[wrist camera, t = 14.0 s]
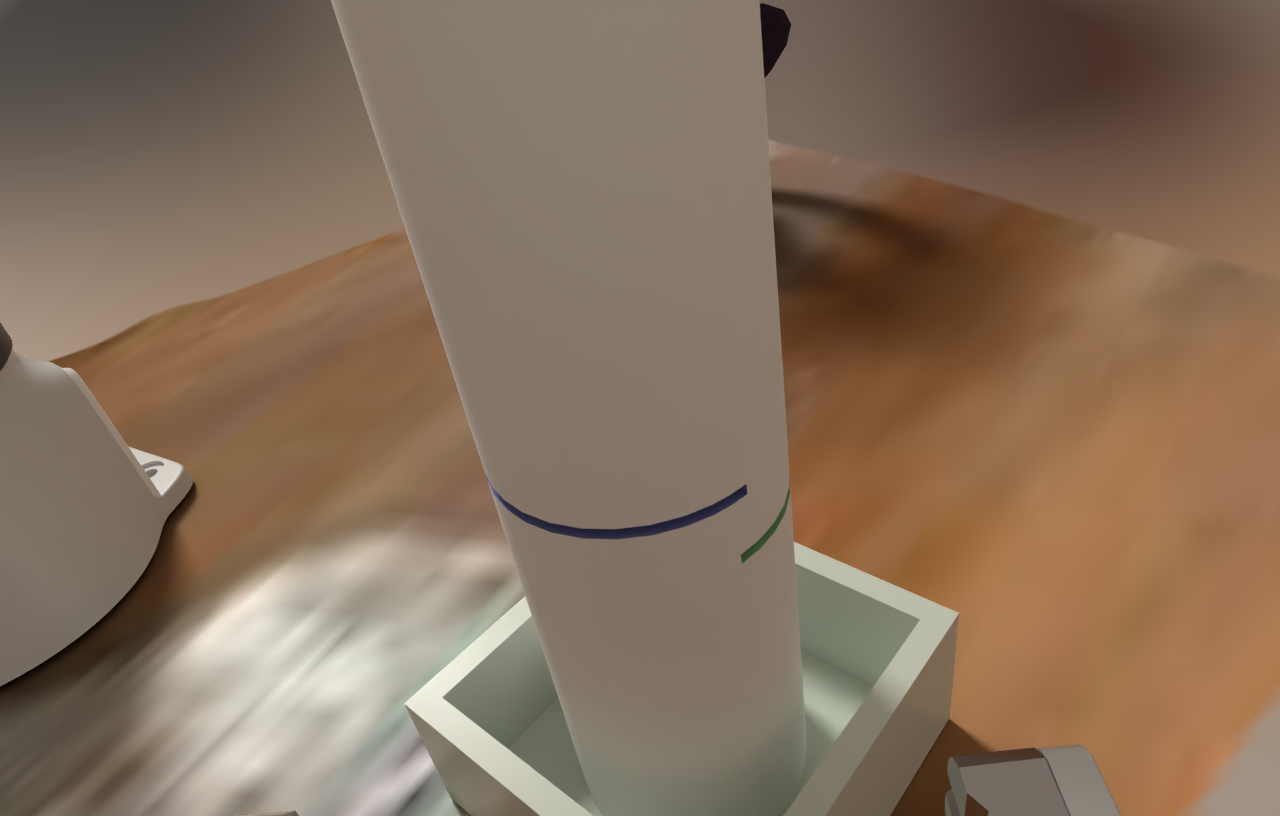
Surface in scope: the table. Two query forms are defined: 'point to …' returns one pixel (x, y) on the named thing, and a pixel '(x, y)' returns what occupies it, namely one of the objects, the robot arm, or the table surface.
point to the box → (832, 685)
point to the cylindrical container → (615, 361)
